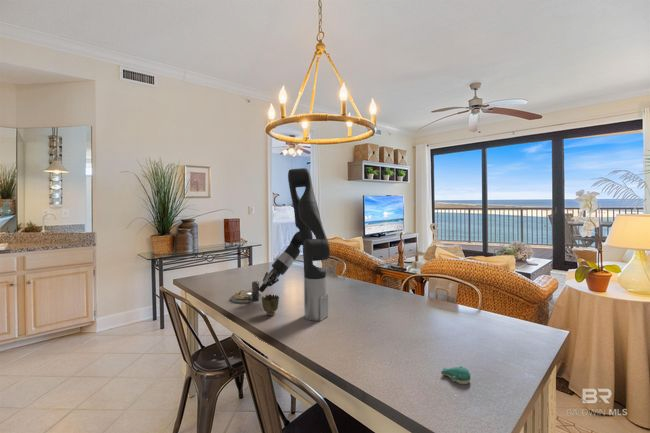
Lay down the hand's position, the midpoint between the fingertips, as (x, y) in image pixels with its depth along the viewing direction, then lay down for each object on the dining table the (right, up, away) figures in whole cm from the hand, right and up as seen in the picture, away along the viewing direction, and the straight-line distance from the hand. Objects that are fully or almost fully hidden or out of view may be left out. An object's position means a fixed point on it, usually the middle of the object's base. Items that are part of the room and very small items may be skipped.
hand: (260, 291), depth 150 cm
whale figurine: (+67, -9, -65) cm, 94 cm away
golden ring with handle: (-7, -4, +5) cm, 9 cm away
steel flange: (-9, -6, +7) cm, 13 cm away
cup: (+8, -7, -16) cm, 19 cm away
